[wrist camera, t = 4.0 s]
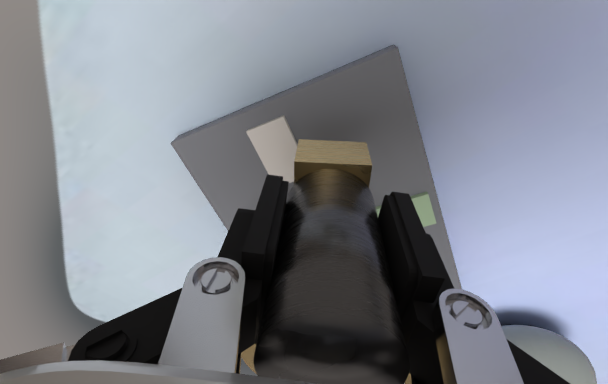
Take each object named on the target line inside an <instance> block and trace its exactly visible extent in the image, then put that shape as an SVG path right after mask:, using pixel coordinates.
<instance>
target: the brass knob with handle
mask: <svg viewBox="0 0 608 384" xmlns="http://www.w3.org/2000/svg"><path fill="white" fill-rule="evenodd" d="M371 170H372V162H371V158H370V155H369V151H368V147H367V143H366V142H348V141H326V140H304V139H299V141H298V146H297V151H296V155H295V160H294V185H293V186H292V187H291V189H290V191H289V193H288V195H287V201H286V207H285V212H284V217H283V223H282V228H281V233H280V238H279V243H278V249H277V254H276V259H275V264H274V269H273V275H272V280H271V284H270V286H269V289H268V291H267V295H266V300H265V305H264V309H263V314H262V319H261V324H260V329H259V333H258V338H257V343H256V344H254V345H252V346H251V347H249V348H248V349H246V350H244V351H243V352H242V356H241V357H242V359H243V360H244V362H245V363H246V364H247V365H248V366H249V368H250V369H251V370H253V371H254V372H255V373H256V374H257V375H258V376H261V377H269V378H277V379H286V380H294V381H302V382H310V383H318V384H404V383H405V381H406V379H407V377H408V375H409V370H410V362H409V357H408V353H407V348H406V344H405V339H404V334H403V330H402V325H401V321H400V316H399V312H398V307H397V302H396V298H395V293H394V289H393V284H392V280H391V275H390V271H389V266H388V261H387V257H386V252H385V248H384V243H383V239H382V234H381V230H380V225H379V220H378V216H377V211H376V207H375V202H374V198H373V195H372V192H371V190H370V189H369V185H370V178H371Z"/></svg>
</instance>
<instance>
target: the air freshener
mask: <svg viewBox="0 0 608 384" xmlns="http://www.w3.org/2000/svg"><path fill="white" fill-rule="evenodd" d="M501 327H502V330H503V332H504V335H505V337H506V339H507V340H509V341H510V342H512V343H513V344H514V345H516V346H517V347H519V348H520V349H522V350H523V351H524V352H526V353H527V354H529V355H530V356H532V357H533V358H534V359H536V360H537V361H539V362H540V363H542V364H543V365H544V366H546V367H547V368H549V369H550V370H552V371H553V372H554V373H556V374H557V375H559V376H560V377H562V378H563V379H564V380H566V381H567V382H569V383H570V384H597V381H596V375H595V371H594V368H593V366H592V365H591V363H590V361H589V359H588V357H587V356H586V355H585V354H584V353H583V352H582V351H581V350H580V349H579V348H578V347H577V346H576V345H575V344H574V343H572V342H571V341H569V340H568V339H566V338H565V337H563V336H561V335H559V334H557V333H554V332H552V331H549V330H546V329H542V328H538V327H534V326H526V325H506V326H501Z"/></svg>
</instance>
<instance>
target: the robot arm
mask: <svg viewBox="0 0 608 384" xmlns="http://www.w3.org/2000/svg"><path fill="white" fill-rule="evenodd" d="M288 184H289V181H283V176H276V175H268V174H267V176H266V179H265V182H264V185H263V188H262V191H261V194H260V197H259V200H258V203H257V206H256V210H250V209H242V208H238V210H237V212H236V214H235V216H234V219H233V221H232V224H231V226H230V229H229V231H228V233H227V236H226V238H225V241H224V243H223V245H222V248H221V250H220V253H219V255H218V257H216V258H209V259H205V260H202V261H201V262H199V263H197V264H195V265H194V266H193V267H192V268H191V269H190V270H189V272H188V274H187V276H186V279H185V282H184V285H183V288H181V289H179V290H177V291H174V292H172V293H170V294H168V295H166V296H163V297H161V298H159V299H157V300H155V301H152V302H150V303H148V304H146V305H144V306H142V307H139V308H137V309H135V310H133V311H131V312H128V313H126V314H124V315H122V316H120V317H117V318H115V319H113V320H111V321H109V322H106V323H105V324H102V325H100V326H98V327H96V328H94V329H93V330H91V331H89V332H88V333H87V334H86V335H84V336H83V337H82V338H81V339H80V340H79V341H78V342H77V343H76V344H75V345H71V346H67V347H65V344H64V342H63V343H60V344H56V345H52V346H49V347H45V348H41V349H38V350H34V351H30V352H27V353H23V354H20V355H16V356H12V357H8V358H5V359H1V360H0V384H318V383H310V382H302V381H294V380H286V379H277V378H269V377H261V376H253V375H245V374H240V366H241V356H242V352H243V351H244V350H246V349H248V348H249V347H251V346H252V345H254V344H256V343H257V338H258V333H259V329H260V324H261V319H262V314H263V309H264V305H265V300H266V295H267V291H268V289H269V286H270V284H271V280H272V275H273V269H274V264H275V259H276V254H277V249H278V243H279V238H280V233H281V228H282V223H283V217H284V212H285V207H286V201H287V192H288ZM378 220H379V225H380V230H381V234H382V239H383V243H384V248H385V252H386V257H387V261H388V266H389V271H390V275H391V280H392V284H393V289H394V293H395V298H396V302H397V307H398V312H399V316H400V321H401V325H402V330H403V334H404V339H405V344H406V348H407V353H408V357H409V362H410V370H409V375H408V377H407V379H406V381H405V384H570V383H569V382H567V381H566V380H564V379H563V378H562V377H560V376H559V375H557V374H556V373H554V372H553V371H552V370H550V369H549V368H547V367H546V366H544V365H543V364H542V363H540V362H539V361H537V360H536V359H534V358H533V357H532V356H530V355H529V354H527V353H526V352H524V351H523V350H522V349H520V348H519V347H517V346H516V345H514V344H513V343H512V342H510V341H509V340H507V339H506V337H505V335H504V332H503V330H502V327H501V325H500V322H499V319H498V317H497V315H496V313H495V312H494V310H493V309H492V308H491V307H490V306H489V304H488V303H487V302H485V301H484V300H483V299H481V298H480V297H479V296H477V295H475V294H473V293H471V292H468V291H465V290H462V289H455V288H454V286H453V284H452V282H451V279H450V277H449V275H448V273H447V270H446V268H445V266H444V263H443V261H442V259H441V257H440V254H439V252H438V250H437V248H436V245H435V243H434V241H433V238H432V237H431V235H430V234H426V233H425V230H424V228H423V225H422V223H421V221H420V218H419V216H418V214H417V211H416V209H415V206H414V204H413V202H412V199H411V197H410V195H409V194H407V193H400V192H391V194H390V195H385V196H384V199H383V202H382V205H381V209H380V212H379V216H378Z"/></svg>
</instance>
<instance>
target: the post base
mask: <svg viewBox="0 0 608 384" xmlns="http://www.w3.org/2000/svg"><path fill="white" fill-rule="evenodd" d="M299 139H304V140H326V141H348V142H366V143H367V147H368V151H369V155H370V158H371V162H372V170H371V178H370V185H369V189H370V190H371V192H372V195H373V198H374V202H375V207H376V211H377V216H379V212H380V209H381V205H382V202H383V199H384V196H385V195H390V194H391V192H400V193H407V194H409V195H410V197H411V199H412V202H413V204H414V206H415V209H416V211H417V214H418V216H419V218H420V221H421V223H422V225H423V228H424V230H425V233H426V234H430V235H431V237H432V238H433V241H434V243H435V245H436V248H437V250H438V252H439V254H440V257H441V259H442V261H443V263H444V266H445V268H446V270H447V273H448V275H449V277H450V279H451V282H452V284H453V286H454V288H455V289H462V288H461V284H460V281H459V277H458V273H457V269H456V266H455V262H454V258H453V254H452V251H451V247H450V243H449V239H448V235H447V232H446V228H445V224H444V220H443V217H442V213H441V209H440V205H439V202H438V198H437V194H436V190H435V186H434V183H433V179H432V175H431V171H430V168H429V164H428V160H427V156H426V152H425V149H424V145H423V141H422V137H421V134H420V130H419V126H418V122H417V119H416V115H415V111H414V107H413V103H412V100H411V96H410V92H409V88H408V85H407V81H406V77H405V73H404V70H403V66H402V62H401V58H400V54H399V51H398V48H397V47H396V46H395V45H392V46H390V47H387V48H385V49H382V50H380V51H378V52H375V53H373V54H371V55H368V56H366V57H364V58H361V59H359V60H356V61H354V62H352V63H349V64H347V65H345V66H342V67H340V68H338V69H335V70H333V71H331V72H328V73H326V74H323V75H321V76H319V77H316V78H314V79H312V80H309V81H307V82H305V83H302V84H300V85H298V86H295V87H293V88H290V89H288V90H286V91H283V92H281V93H279V94H276V95H274V96H272V97H269V98H267V99H265V100H262V101H260V102H257V103H255V104H253V105H250V106H248V107H246V108H243V109H241V110H239V111H236V112H234V113H231V114H229V115H227V116H224V117H222V118H220V119H217V120H215V121H213V122H210V123H208V124H206V125H203V126H201V127H198V128H196V129H194V130H191V131H189V132H187V133H184V134H182V135H180V136H178V137H177V138H176V139H175V140H174V141H172V142H171V145H172V146H173V148H174V149H175V151H176V152H177V154H178V155H179V157H180V158H181V160H182V161H183V163H184V165H185V166H186V168H187V169H188V171H189V172H190V174H191V175H192V177H193V178H194V180H195V181H196V183H197V184H198V186H199V187H200V189H201V190H202V192H203V193H204V195H205V196H206V198H207V200H208V201H209V203H210V204H211V206H212V207H213V209H214V210H215V212H216V213H217V215H218V216H219V218H220V219H221V221H222V222H223V224H224V225H225V227H226V228H227V230H228V231H229V229H230V226H231V224H232V221H233V219H234V216H235V214H236V212H237V210H238V208H242V209H250V210H256V206H257V203H258V200H259V197H260V194H261V191H262V188H263V185H264V182H265V179H266V176H267V174H268V175H276V176H283V181H289V184H288V192H287V195H288V193H289V191H290V189H291V187H292V186H293V185H294V160H295V155H296V151H297V146H298V141H299Z"/></svg>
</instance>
